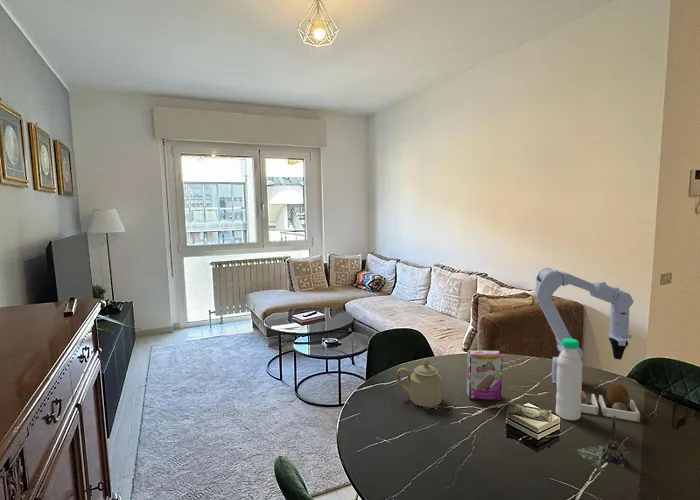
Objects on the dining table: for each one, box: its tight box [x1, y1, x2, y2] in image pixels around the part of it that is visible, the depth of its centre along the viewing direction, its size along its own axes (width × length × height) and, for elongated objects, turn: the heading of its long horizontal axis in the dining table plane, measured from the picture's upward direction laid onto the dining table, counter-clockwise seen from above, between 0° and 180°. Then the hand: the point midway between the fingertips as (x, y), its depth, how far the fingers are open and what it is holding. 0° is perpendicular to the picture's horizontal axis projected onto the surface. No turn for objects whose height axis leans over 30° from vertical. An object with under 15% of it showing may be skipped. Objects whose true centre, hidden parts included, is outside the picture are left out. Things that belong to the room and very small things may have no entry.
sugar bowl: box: [396, 358, 443, 408], centre depth 139 cm, size 15×11×15 cm
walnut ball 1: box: [581, 396, 588, 405], centre depth 133 cm, size 4×4×4 cm
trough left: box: [580, 393, 599, 416], centre depth 134 cm, size 10×10×2 cm
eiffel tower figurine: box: [576, 412, 631, 472], centre depth 106 cm, size 15×10×13 cm
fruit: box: [606, 383, 630, 406], centre depth 131 cm, size 6×6×8 cm
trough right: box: [598, 394, 641, 423], centre depth 129 cm, size 10×10×2 cm
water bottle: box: [555, 338, 584, 421], centre depth 127 cm, size 7×7×25 cm
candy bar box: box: [466, 349, 503, 401], centre depth 141 cm, size 11×5×16 cm, turn 84°
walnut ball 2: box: [611, 402, 628, 411], centre depth 127 cm, size 4×4×4 cm
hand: (617, 358), depth 148 cm, fingers closed
